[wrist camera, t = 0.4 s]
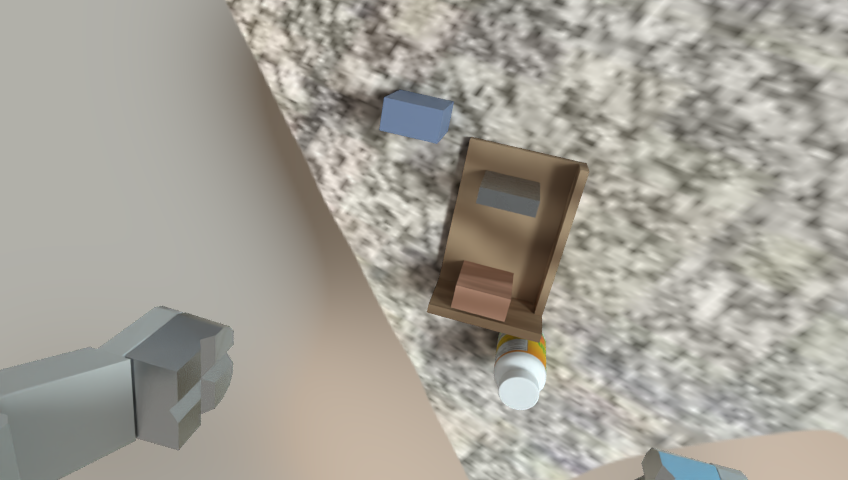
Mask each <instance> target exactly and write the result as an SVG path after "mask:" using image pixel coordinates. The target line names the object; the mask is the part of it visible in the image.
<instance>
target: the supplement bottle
mask: <svg viewBox="0 0 848 480" xmlns="http://www.w3.org/2000/svg"><path fill="white" fill-rule="evenodd" d="M494 379H495V382H496V384H497V386H498V387H499V388H498V394H499V397H500V399H501V401H502V402H503V403H504V404H505V405H506V406H508V407H510V408H512V409H516V410H525V409H529V408H531V407H532V406H534V405H535V404H536V402H537V401H538V398H539V392H540V391H541V390H542V388H543V387H544V385H545V382H546V341H545V336H544V334H543V332H542V336H541V339H540V342H539V343H538V342H534V341H530V340H527V339H523V338H519V337H516V336H512V335H508V334H505V333H501V332H500V334H499V337H498V342H497V350H496V358H495V365H494Z"/></svg>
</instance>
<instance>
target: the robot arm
mask: <svg viewBox="0 0 848 480" xmlns="http://www.w3.org/2000/svg"><path fill="white" fill-rule="evenodd" d="M233 334H234V331H233V330H232V328H231V327H230V326H227V325H223V324H221V323H217V322H214V321H211V320H208V319H205V318H201V317H198V316H195V315H192V314H189V313H183V312H181V311H178V310H174V309H171V308H168V307H165V306H159V307H154V308H153V309H152V310H150V311H149V312H148V313H146V314H145V315H143V316H142V317H141V318H139V319H138V320H136V321H135V322H134V323H132V324H131V325H130V326H128V327H127V328H125V329H124V330H123V331H121V332H120V333H118V334H117V335H116V336H114V337H113V338H112V339H110V340H109V341H108V342H106V343H105V344H103V345H102V346H100V347H99V348H98V349H95V348H92V347H87V348H83V349H80V350H76V351H72V352H68V353H64V354H60V355H56V356H52V357H48V358H44V359H41V360H37V361H33V362H29V363H25V364H21V365H17V366H14V367H10V368H6V369H2V370H0V480H59V479H61V478H63V477H65V476H67V475H69V474H71V473H72V472H74V471H77V470H79V469H81V468H83V467H85V466H86V465H89V464H90V463H92V462H94V461H97V460H98V459H100V458H102V457H104V456H106V455H108V454H110V453H112V452H114V451H116V450H118V449H120V448H122V447H124V446H126V445H128V444H130V443H132V442H134V441H135V440H136V438H138V439H141V440H144V441H148V442H151V443H155V444H158V445H162V446H165V447H169V448H172V449H176V450H180V448H181V447H182V446H183V445H184V444H185V443H186V441H187V440H188V439H189V438H190V437H191V436H192V434H193V433H194V432H195V431H196V430H197V429H198V427H199V426H200V425H201V414H203V413H205V412H207V411H210V410H212V409H215V407H216V406H217V405H218V404H219V402H220V401H221V400H222V399H223V397H224V395H225V393H226V391H227V389H228V387H229V385H230V381H231V377H232V373H233V362H232V360H231V359H230V357H229V355H228V354H227V351H228V350H229V349H230V348H231V347H232V346H233V345H234V335H233ZM642 467H643V471H644V475H643V476H642V477H640V478H637V479H635V480H748V479H747V477H746V476H745V475H744V474H743V473H742V472H741V471H739V470H735V469H731V468H727V467H724V466H720V465H716V464H712V463H710V464H709V463H706V462H702V461H699V460H695V459H692V458H688V457H684V456H681V455H677V454H674V453H670V452H667V451H663V450H659V449H656V448H651V449H650V450H649V451H648V452H647V453H646V455H645V457H644V459H643V461H642Z"/></svg>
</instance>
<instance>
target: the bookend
mask: <svg viewBox="0 0 848 480" xmlns="http://www.w3.org/2000/svg"><path fill="white" fill-rule="evenodd" d="M476 203H477V204H481V205H485V206H489V207H493V208H497V209H501V210H505V211H509V212H514V213H518V214H522V215H526V216H530V217H534V218H535V217H536V214H537V210H538V207H539V204H540V183H539V182H535V181H531V180H526V179H522V178H518V177H514V176H509V175H505V174H501V173H497V172H493V171H488V170H486V171H485V174H484V177H483V179H482V182H481V185H480V188H479V192H478V196H477V200H476Z"/></svg>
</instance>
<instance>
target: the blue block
mask: <svg viewBox="0 0 848 480" xmlns="http://www.w3.org/2000/svg"><path fill="white" fill-rule="evenodd" d="M453 103H454V101H449V100H445V99H440V98H436V97H431V96H427V95H422V94H418V93H413V92H409V91H404V90H399V91H396V92H394V93H392V94H390V95H388V96H386V97H384V102H383V108H382V115H381V122H380V129H379V130H381V131H385V132H389V133H394V134H398V135H402V136H406V137H411V138H415V139H419V140H424V141H428V142H432V143H436V144H437V143H438V142H439V141H440V140H441V139H442V137H443V136H444V135H445V134H446V133H447V132H448V127H449V123H450V118H451V113H452V108H453Z"/></svg>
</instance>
